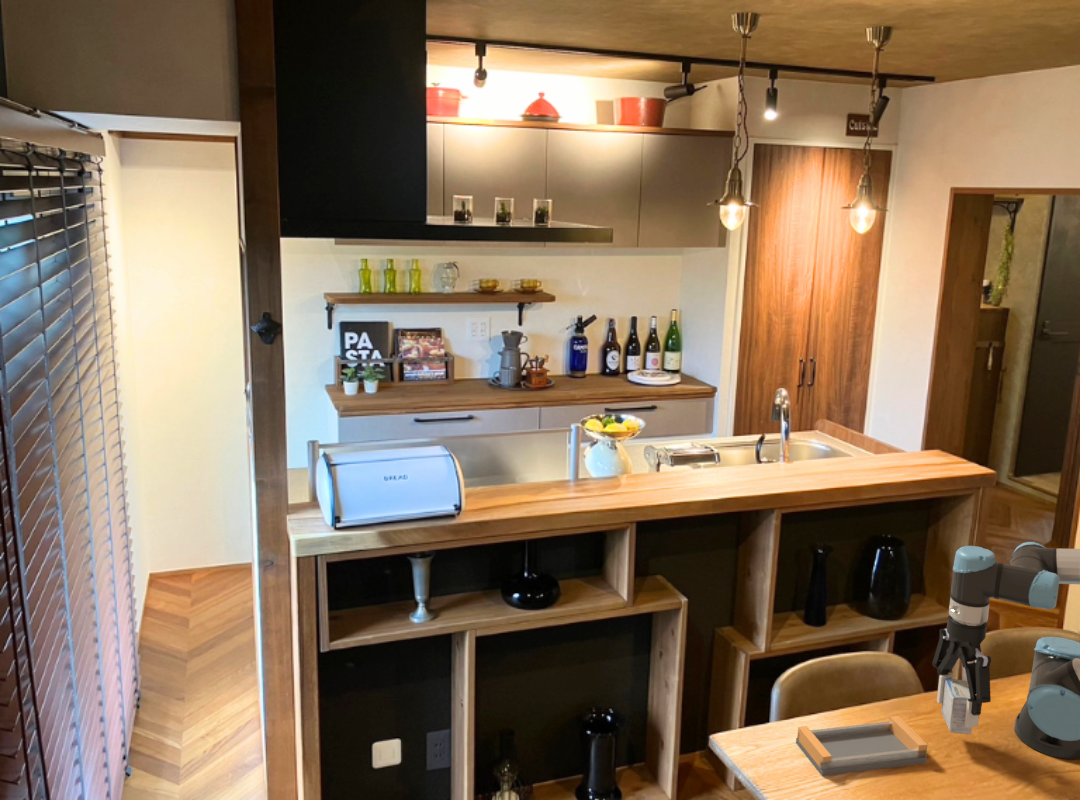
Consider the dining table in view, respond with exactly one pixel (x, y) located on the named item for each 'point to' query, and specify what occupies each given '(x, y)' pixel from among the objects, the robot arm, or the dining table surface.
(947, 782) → the dining table surface
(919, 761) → the grey shallow tray
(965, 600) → the robot arm
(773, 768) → the dining table surface
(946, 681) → the medicine box
